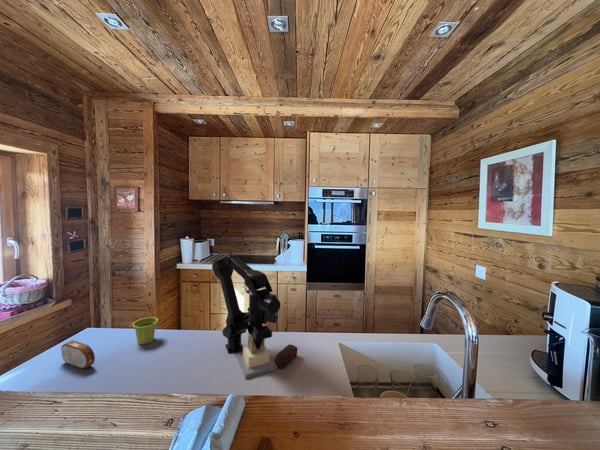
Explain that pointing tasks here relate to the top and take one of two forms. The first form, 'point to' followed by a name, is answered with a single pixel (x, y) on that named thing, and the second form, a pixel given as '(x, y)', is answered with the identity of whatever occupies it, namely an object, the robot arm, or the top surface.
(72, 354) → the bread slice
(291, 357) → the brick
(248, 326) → the robot arm
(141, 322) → the plant pot
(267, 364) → the foundation
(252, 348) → the tan cube
